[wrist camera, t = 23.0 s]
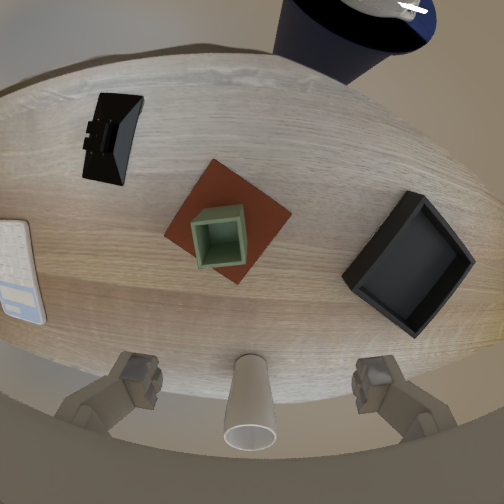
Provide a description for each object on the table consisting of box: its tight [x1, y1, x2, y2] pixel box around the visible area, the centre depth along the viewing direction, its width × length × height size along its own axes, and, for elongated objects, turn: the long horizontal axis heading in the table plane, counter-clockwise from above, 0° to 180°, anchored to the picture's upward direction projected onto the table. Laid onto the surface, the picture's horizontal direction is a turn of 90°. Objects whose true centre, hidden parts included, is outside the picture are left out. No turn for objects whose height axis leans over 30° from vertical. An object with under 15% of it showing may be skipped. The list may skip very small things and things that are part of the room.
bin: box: [342, 191, 476, 339], centre depth 36 cm, size 16×16×5 cm
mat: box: [164, 159, 292, 285], centre depth 36 cm, size 12×12×1 cm
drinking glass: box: [224, 355, 277, 451], centre depth 37 cm, size 7×7×15 cm
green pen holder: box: [191, 204, 247, 269], centre depth 32 cm, size 5×5×8 cm
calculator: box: [0, 220, 46, 325], centre depth 38 cm, size 13×20×2 cm, turn 176°
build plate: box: [82, 93, 144, 186], centre depth 30 cm, size 12×7×5 cm, turn 165°
